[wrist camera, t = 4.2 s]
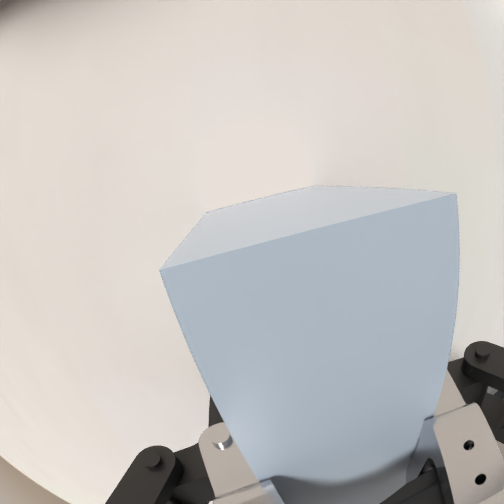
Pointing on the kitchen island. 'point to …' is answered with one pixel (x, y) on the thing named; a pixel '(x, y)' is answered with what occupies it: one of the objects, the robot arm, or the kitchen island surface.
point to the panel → (323, 331)
